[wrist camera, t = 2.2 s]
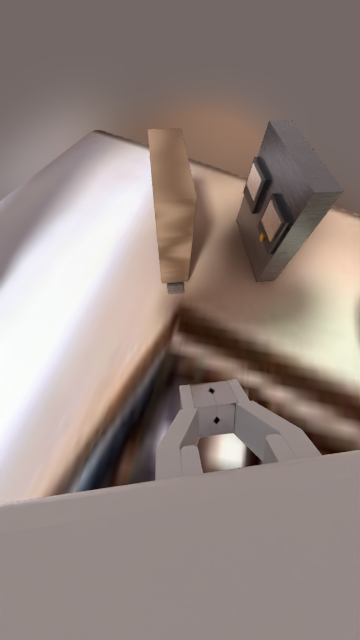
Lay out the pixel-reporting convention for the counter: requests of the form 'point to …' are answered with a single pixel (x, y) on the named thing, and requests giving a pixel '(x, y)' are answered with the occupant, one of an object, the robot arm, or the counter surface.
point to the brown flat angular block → (172, 202)
